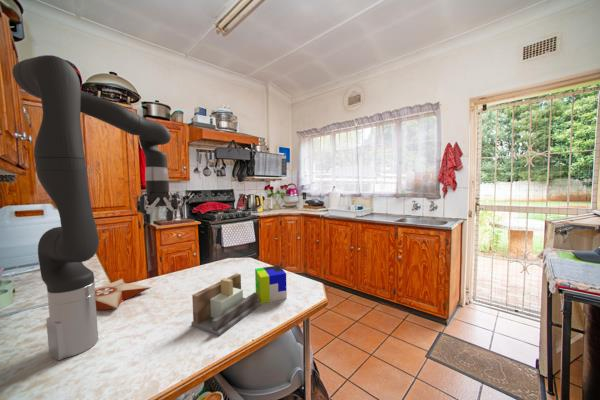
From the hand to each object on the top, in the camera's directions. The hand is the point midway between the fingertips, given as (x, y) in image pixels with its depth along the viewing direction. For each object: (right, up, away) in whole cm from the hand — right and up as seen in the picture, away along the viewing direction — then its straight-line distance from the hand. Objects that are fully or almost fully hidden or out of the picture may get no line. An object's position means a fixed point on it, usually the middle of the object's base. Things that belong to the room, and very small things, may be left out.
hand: (159, 222), depth 91 cm
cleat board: (+29, -31, -9) cm, 43 cm away
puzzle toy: (+42, -30, +4) cm, 52 cm away
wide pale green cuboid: (+29, -30, -9) cm, 42 cm away
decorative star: (-22, -31, +1) cm, 37 cm away
